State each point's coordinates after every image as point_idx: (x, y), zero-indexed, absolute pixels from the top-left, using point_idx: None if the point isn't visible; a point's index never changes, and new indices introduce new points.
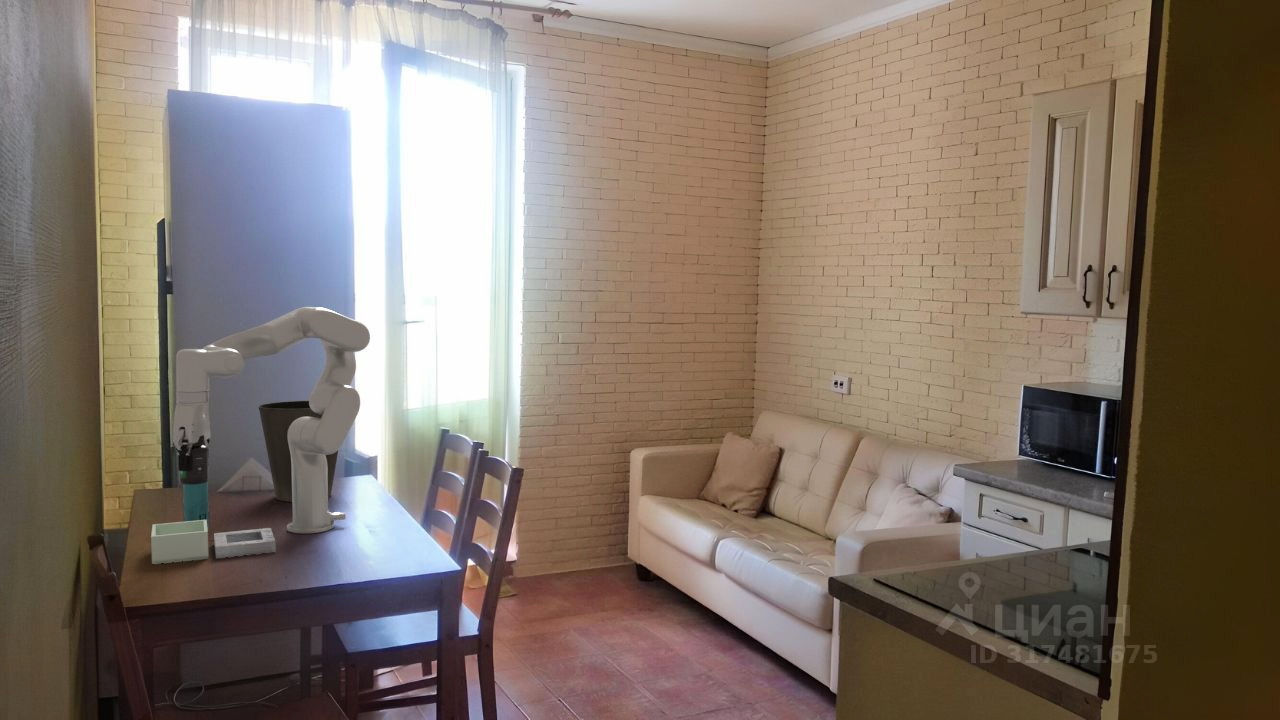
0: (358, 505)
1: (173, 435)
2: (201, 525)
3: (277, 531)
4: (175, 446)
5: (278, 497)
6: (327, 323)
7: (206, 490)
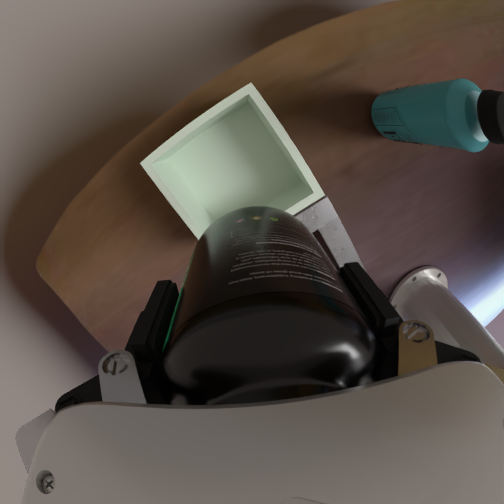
0: (498, 290)
1: (29, 470)
2: (308, 186)
3: (406, 259)
4: (40, 416)
5: None
6: None
7: (448, 146)
